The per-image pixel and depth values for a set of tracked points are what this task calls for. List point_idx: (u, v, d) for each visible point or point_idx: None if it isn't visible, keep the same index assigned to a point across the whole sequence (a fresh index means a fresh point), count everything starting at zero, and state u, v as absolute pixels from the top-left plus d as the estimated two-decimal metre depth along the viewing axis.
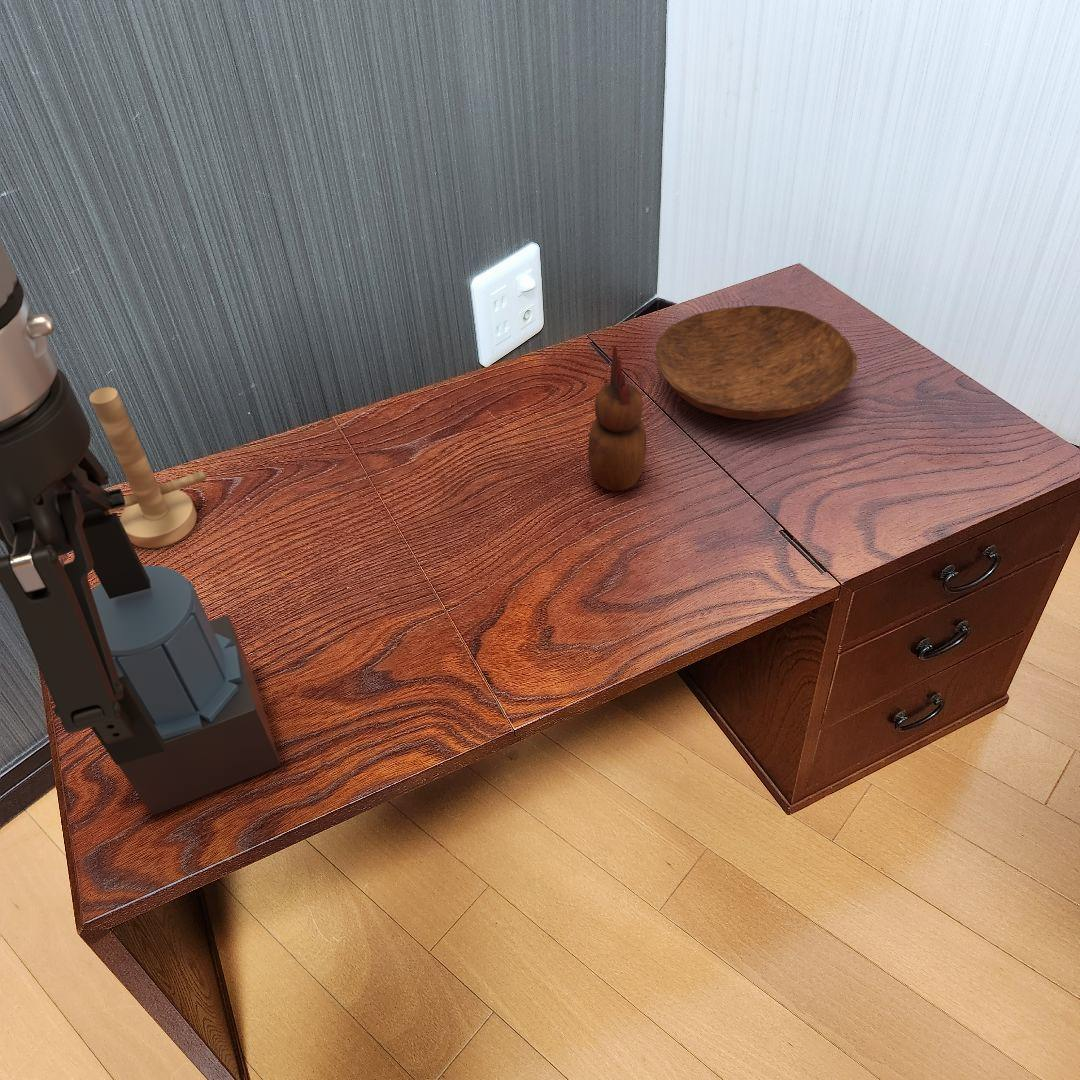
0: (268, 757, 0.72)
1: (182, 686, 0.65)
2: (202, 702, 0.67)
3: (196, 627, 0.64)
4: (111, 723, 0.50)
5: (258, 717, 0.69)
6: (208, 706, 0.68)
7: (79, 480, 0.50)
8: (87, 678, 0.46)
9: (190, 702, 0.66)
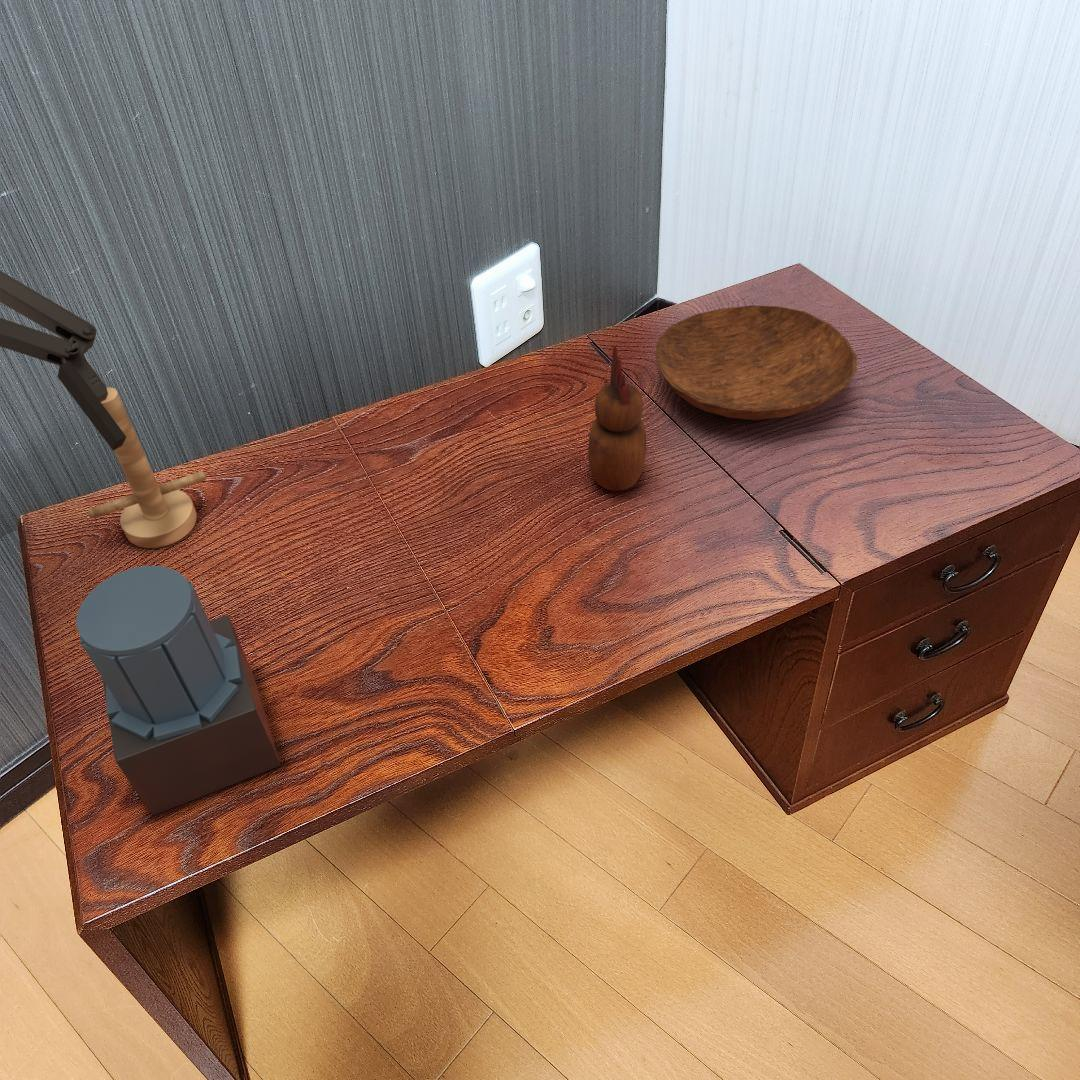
0: (268, 757, 0.72)
1: (182, 686, 0.65)
2: (202, 702, 0.67)
3: (196, 627, 0.64)
4: None
5: (258, 717, 0.69)
6: (208, 706, 0.68)
7: None
8: None
9: (190, 702, 0.66)
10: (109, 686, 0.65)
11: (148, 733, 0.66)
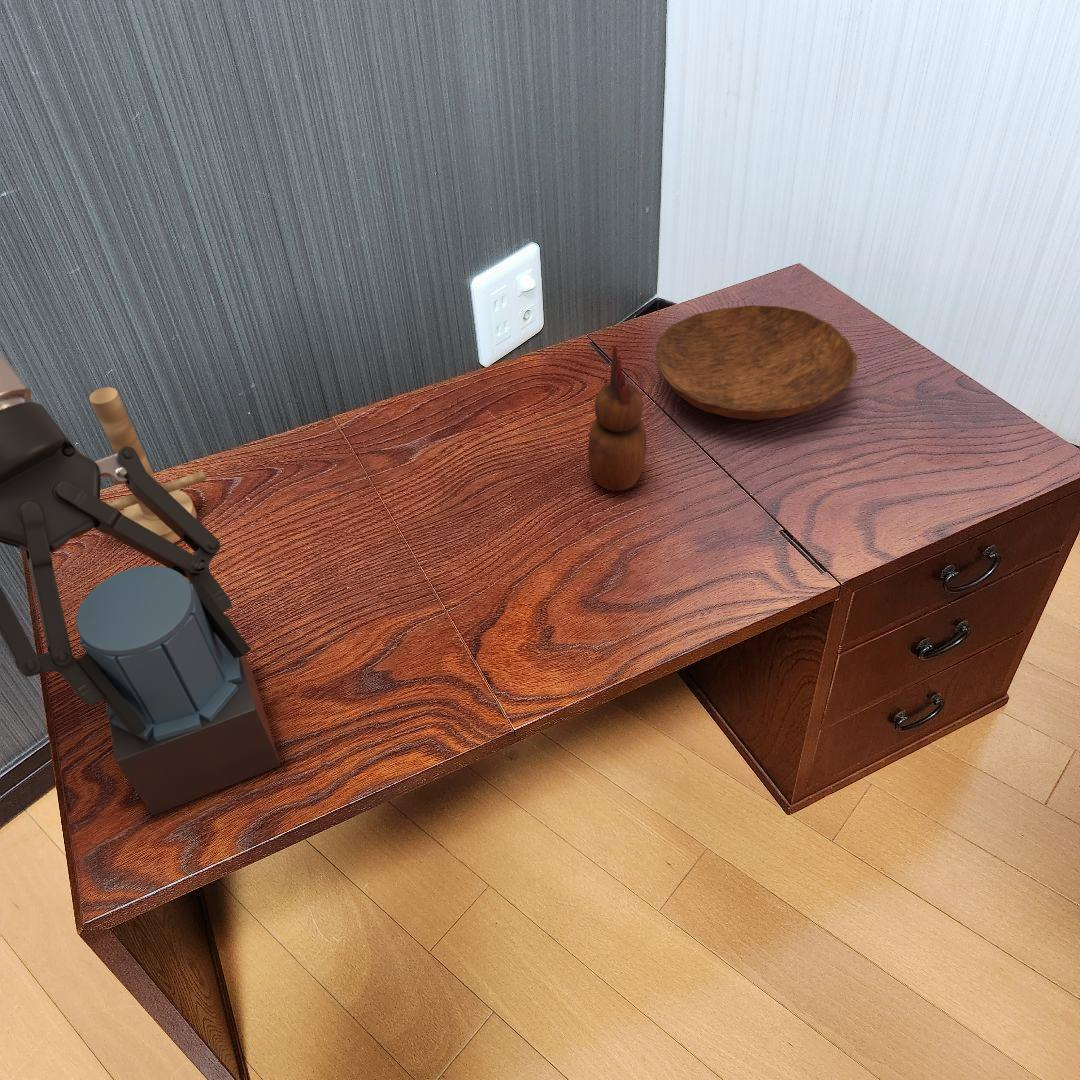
0: (268, 757, 0.72)
1: (182, 686, 0.65)
2: (202, 702, 0.67)
3: (196, 627, 0.64)
4: None
5: (258, 717, 0.69)
6: (208, 706, 0.68)
7: None
8: None
9: (190, 702, 0.66)
10: None
11: (148, 733, 0.66)
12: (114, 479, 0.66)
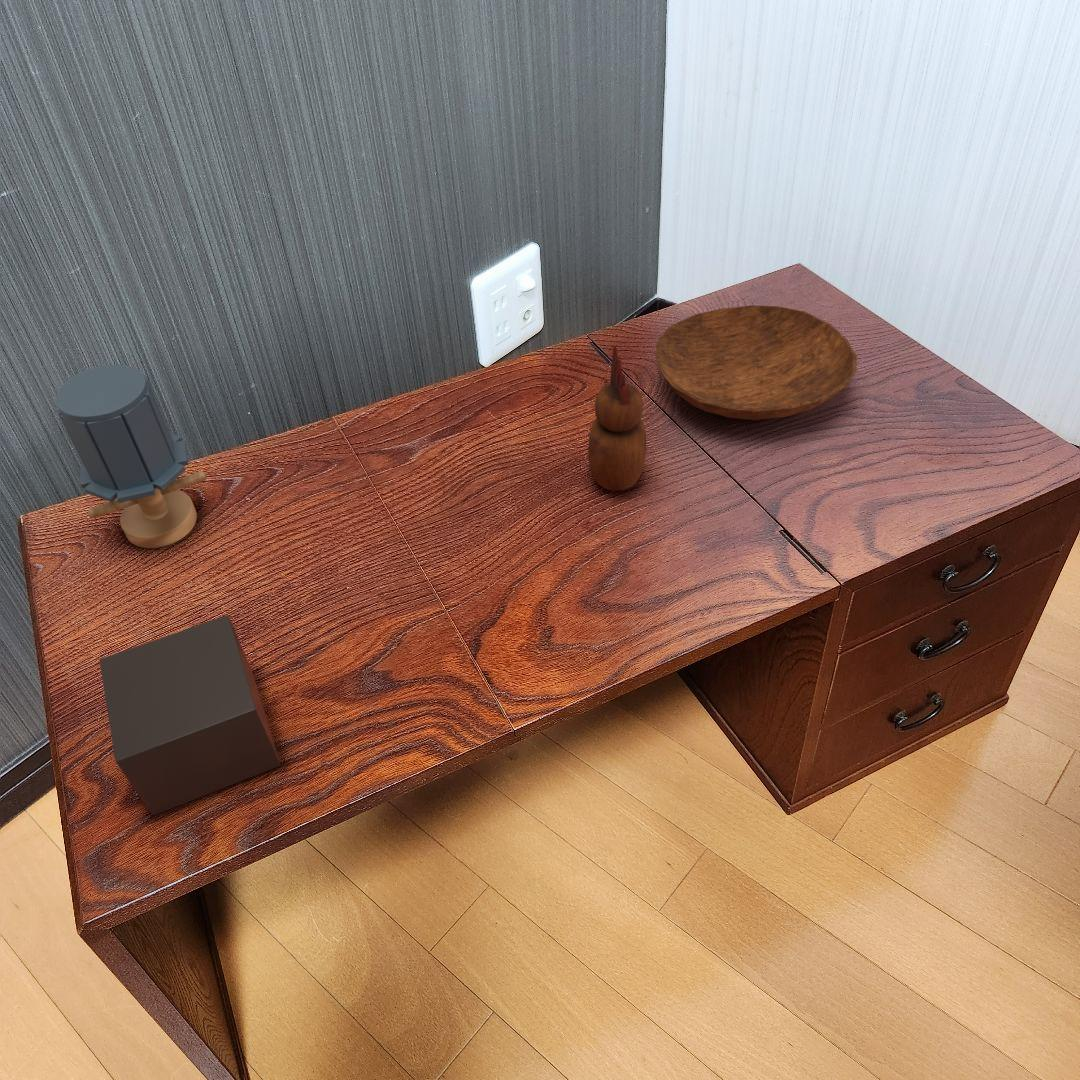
0: (268, 757, 0.72)
1: (139, 456, 0.83)
2: (155, 475, 0.86)
3: (149, 407, 0.82)
4: None
5: (258, 717, 0.69)
6: (160, 478, 0.86)
7: None
8: None
9: (146, 472, 0.85)
10: (82, 456, 0.83)
11: (113, 496, 0.85)
12: None
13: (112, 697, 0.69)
